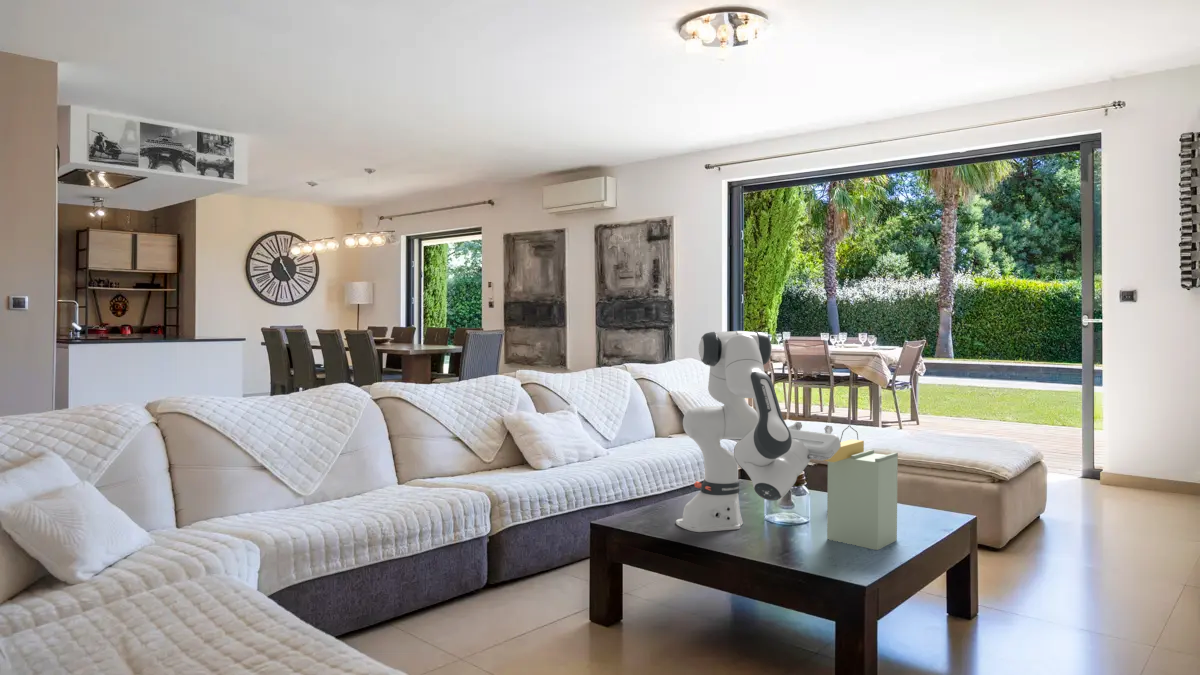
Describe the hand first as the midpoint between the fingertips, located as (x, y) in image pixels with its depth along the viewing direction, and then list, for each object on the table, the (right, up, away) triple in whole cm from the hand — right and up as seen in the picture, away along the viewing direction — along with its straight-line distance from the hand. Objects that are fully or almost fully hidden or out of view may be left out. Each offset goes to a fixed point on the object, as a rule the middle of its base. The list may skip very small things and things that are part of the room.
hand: (814, 425), depth 221 cm
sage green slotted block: (+20, -37, +18) cm, 46 cm away
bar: (+13, -11, +16) cm, 24 cm away
